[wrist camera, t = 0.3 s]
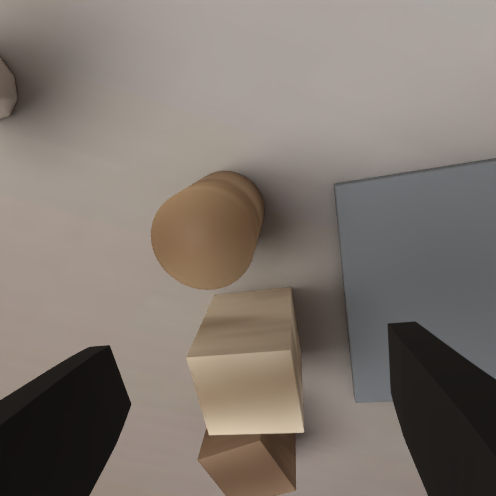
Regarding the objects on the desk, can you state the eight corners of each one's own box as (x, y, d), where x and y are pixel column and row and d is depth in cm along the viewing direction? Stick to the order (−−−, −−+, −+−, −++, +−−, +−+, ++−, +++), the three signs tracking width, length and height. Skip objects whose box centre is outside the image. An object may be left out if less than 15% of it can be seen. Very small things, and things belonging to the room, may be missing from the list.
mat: (602, 383, 18) (612, 391, 17) (353, 394, 20) (355, 402, 20) (655, 133, 14) (671, 133, 13) (333, 183, 16) (335, 185, 15)
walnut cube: (295, 428, 22) (295, 490, 18) (243, 444, 23) (234, 506, 19) (265, 384, 21) (259, 440, 17) (213, 403, 22) (197, 460, 18)
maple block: (301, 352, 20) (304, 432, 15) (229, 357, 20) (209, 435, 15) (290, 286, 18) (290, 350, 13) (214, 294, 19) (186, 357, 14)
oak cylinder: (270, 241, 17) (262, 284, 13) (198, 250, 18) (166, 294, 13) (257, 164, 16) (243, 181, 11) (180, 178, 17) (138, 198, 12)
